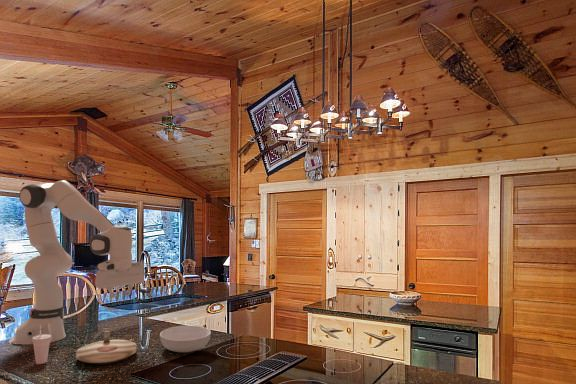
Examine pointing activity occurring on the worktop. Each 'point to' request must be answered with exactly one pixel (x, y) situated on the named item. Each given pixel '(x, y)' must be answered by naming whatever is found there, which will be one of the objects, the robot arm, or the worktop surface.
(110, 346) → the round wooden board
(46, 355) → the smoothie
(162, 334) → the serving bowl
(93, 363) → the turntable base
